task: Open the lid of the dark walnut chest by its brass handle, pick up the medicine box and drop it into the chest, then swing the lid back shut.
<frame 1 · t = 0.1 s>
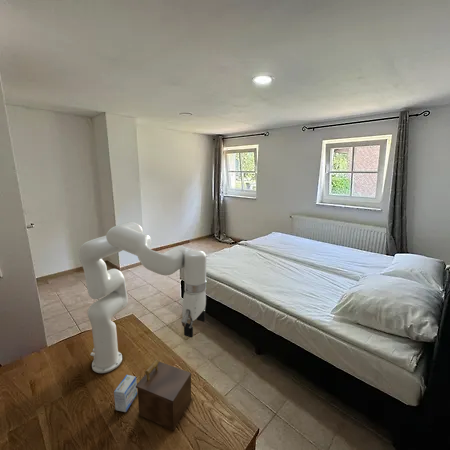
hand: (195, 327, 90), 31 cm above the table, tool pointing down, fingers open, 9 cm apart
medicine box: (126, 402, 94), on the table
lid: (164, 375, 90), point 14 cm above the table, hinge at 0.0°
chest: (165, 407, 93), on the table
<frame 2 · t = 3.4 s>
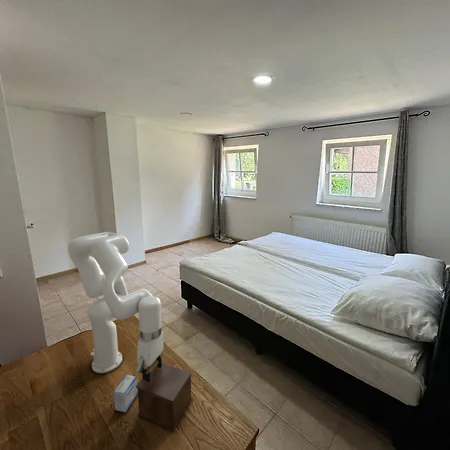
hand: (152, 372, 92), 13 cm above the table, tool pointing down, fingers closed on lid, 6 cm apart
lid: (164, 375, 90), point 14 cm above the table, hinge at 0.0°, touching gripper
everything else where it was.
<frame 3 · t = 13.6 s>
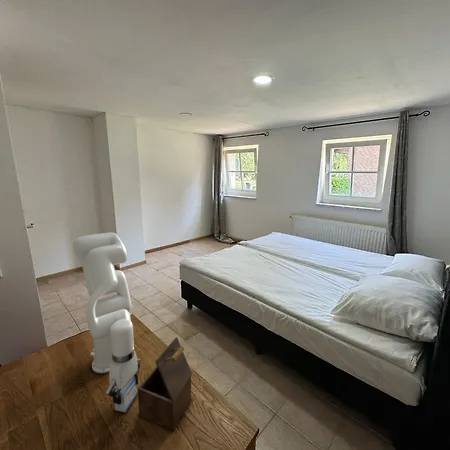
hand: (126, 392, 93), 5 cm above the table, tool pointing down, fingers closed on medicine box, 8 cm apart
medicine box: (126, 402, 94), on the table, touching gripper
lid: (179, 367, 86), point 20 cm above the table, hinge at 65.9°
when the fingers open (16 cm above the table, at t = 18.6 s): medicine box stays where it is, resting on chest.
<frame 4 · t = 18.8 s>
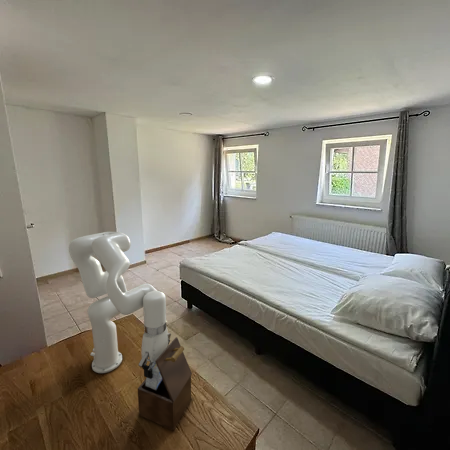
hand: (156, 367, 90), 17 cm above the table, tool pointing down, fingers open, 9 cm apart
medicine box: (155, 379, 92), point 11 cm above the table, touching chest, gripper
everything else where it was.
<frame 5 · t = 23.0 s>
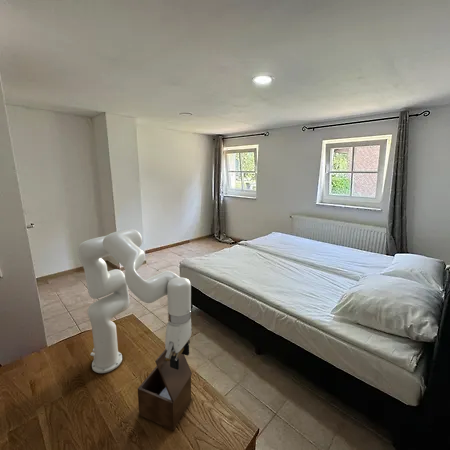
hand: (179, 360, 85), 23 cm above the table, tool pointing down, fingers closed on lid, 6 cm apart
medicine box: (158, 399, 93), point 3 cm above the table, touching chest
lid: (179, 367, 86), point 20 cm above the table, hinge at 65.9°, touching gripper
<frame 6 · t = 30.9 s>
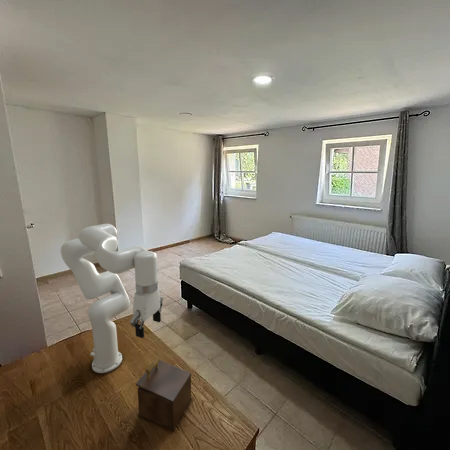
hand: (148, 328, 90), 30 cm above the table, tool pointing down, fingers open, 9 cm apart
lid: (164, 374, 89), point 15 cm above the table, hinge at 3.5°
everything else where it was.
at the end: lid reached +66° during the clip, +4° at the end; medicine box inside the target area in the chest (3.0 cm from its centre), point 3.1 cm above the chest's base; lid at +4° (first picture: +0°) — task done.
